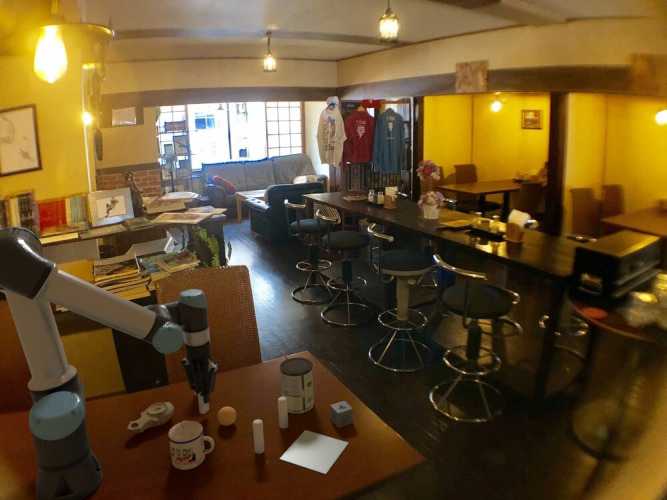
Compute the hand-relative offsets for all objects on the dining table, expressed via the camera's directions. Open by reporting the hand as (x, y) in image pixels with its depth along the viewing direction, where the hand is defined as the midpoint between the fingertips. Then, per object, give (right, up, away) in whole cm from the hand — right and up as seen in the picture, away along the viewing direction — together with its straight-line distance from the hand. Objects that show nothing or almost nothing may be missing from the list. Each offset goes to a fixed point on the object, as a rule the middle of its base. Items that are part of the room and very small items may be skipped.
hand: (204, 411), depth 155 cm
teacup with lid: (+2, -7, -19) cm, 20 cm away
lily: (+25, +4, +23) cm, 35 cm away
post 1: (+19, -6, -16) cm, 26 cm away
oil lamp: (-15, -4, -3) cm, 15 cm away
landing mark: (+35, -6, -17) cm, 39 cm away
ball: (+8, 0, -4) cm, 9 cm away
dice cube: (+42, -2, -3) cm, 42 cm away
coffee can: (+28, 0, +6) cm, 29 cm away
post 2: (+25, -3, -5) cm, 26 cm away
